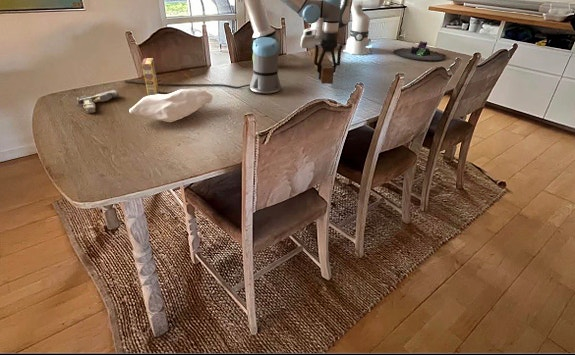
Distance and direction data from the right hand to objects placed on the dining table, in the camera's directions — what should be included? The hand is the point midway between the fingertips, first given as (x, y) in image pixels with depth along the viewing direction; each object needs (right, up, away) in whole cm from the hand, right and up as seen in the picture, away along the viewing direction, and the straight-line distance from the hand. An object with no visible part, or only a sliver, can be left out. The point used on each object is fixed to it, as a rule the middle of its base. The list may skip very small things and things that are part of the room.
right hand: (316, 55), depth 219 cm
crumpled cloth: (-65, -47, -69) cm, 106 cm away
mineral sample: (+72, +11, +30) cm, 79 cm away
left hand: (+2, -22, -31) cm, 38 cm away
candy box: (-79, -35, -52) cm, 101 cm away
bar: (+1, -12, -15) cm, 19 cm away
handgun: (-97, -42, -63) cm, 123 cm away
